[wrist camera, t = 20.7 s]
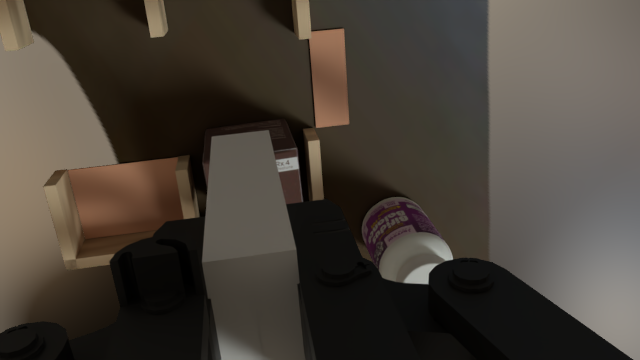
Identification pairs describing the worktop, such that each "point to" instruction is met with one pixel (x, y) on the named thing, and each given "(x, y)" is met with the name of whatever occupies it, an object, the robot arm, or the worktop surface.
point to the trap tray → (171, 173)
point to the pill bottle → (403, 241)
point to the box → (281, 146)
